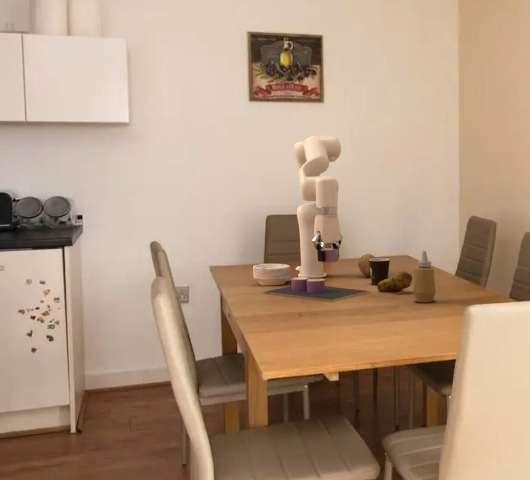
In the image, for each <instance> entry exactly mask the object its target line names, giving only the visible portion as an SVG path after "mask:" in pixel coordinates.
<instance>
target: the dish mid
mask: <svg viewBox="0 0 530 480" xmlns="http://www.w3.org/2000/svg"><path fill="white" fill-rule="evenodd" d="M306 285H307V292H309V293H321V292H325V291H326V290H325V286H326V279H325V278H310V279H308V280H306Z"/></svg>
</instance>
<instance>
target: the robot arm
mask: <svg viewBox="0 0 530 480" xmlns="http://www.w3.org/2000/svg"><path fill="white" fill-rule="evenodd" d="M341 145H342V144H341V142H340V139H339V138H338V137H337V136H335V135H312V136H311V135H310V136H308V137H307V138H306V139H305V140H301V141H298V142H296V143H294V145H293V154H294V158H295V160H296V163H297V165H298V168H299V169H298V171H299V172H298V178H297V179H298V185H299V194H300V195H299V196H300V198H301V200H302V201H305V202H314V203H303V204H300V205H299V206H298V207H297V209H296V218H297V222H298V230H299V246H300V249H299V250H300V265H297V267H296V268H295V271H296V272H299V273H298V274H297V277H308V278H310V279H323V278H326V277H327V276H328V273H327V272H324V263H326V262H325V251H323V250H324V248H326V245H327V244H330V245H331V248H336V249H338V260H340V248H341V245H342V241H343V238H344V236H343V235H342V234H341V228H340V220H339V216H338V215H339V210H338V209H339V186H340V185H339V181H338V180H337V179H336V177H335V176H329V175H327V176H323V175H321V174H323V173H325V172H326V171H327V170H328V169H329V167H330V163H334V162H336V161H337V160H338V159H339V158H340V156H341V153H342V146H341ZM319 261H320V262H319Z"/></svg>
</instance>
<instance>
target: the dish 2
mask: <svg viewBox="0 0 530 480" xmlns="http://www.w3.org/2000/svg"><path fill="white" fill-rule="evenodd" d="M323 251H325V262H324V263H338V262H339V259H338V249H336V248H333V247H331V248H330V247H324V250H323ZM319 262H320V261H319Z"/></svg>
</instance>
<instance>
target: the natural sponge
mask: <svg viewBox="0 0 530 480" xmlns="http://www.w3.org/2000/svg"><path fill="white" fill-rule="evenodd" d="M376 258H377V257H376V256H375V255H373V254H371V253H365V254H364V255H362V256H360V258H359V259H358V260H357V261H358V262H357V266H358V269H359V271H360V273H361V274H362V275H363V276H364V277H366V278H371V274H370V266H369V259H376Z"/></svg>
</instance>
